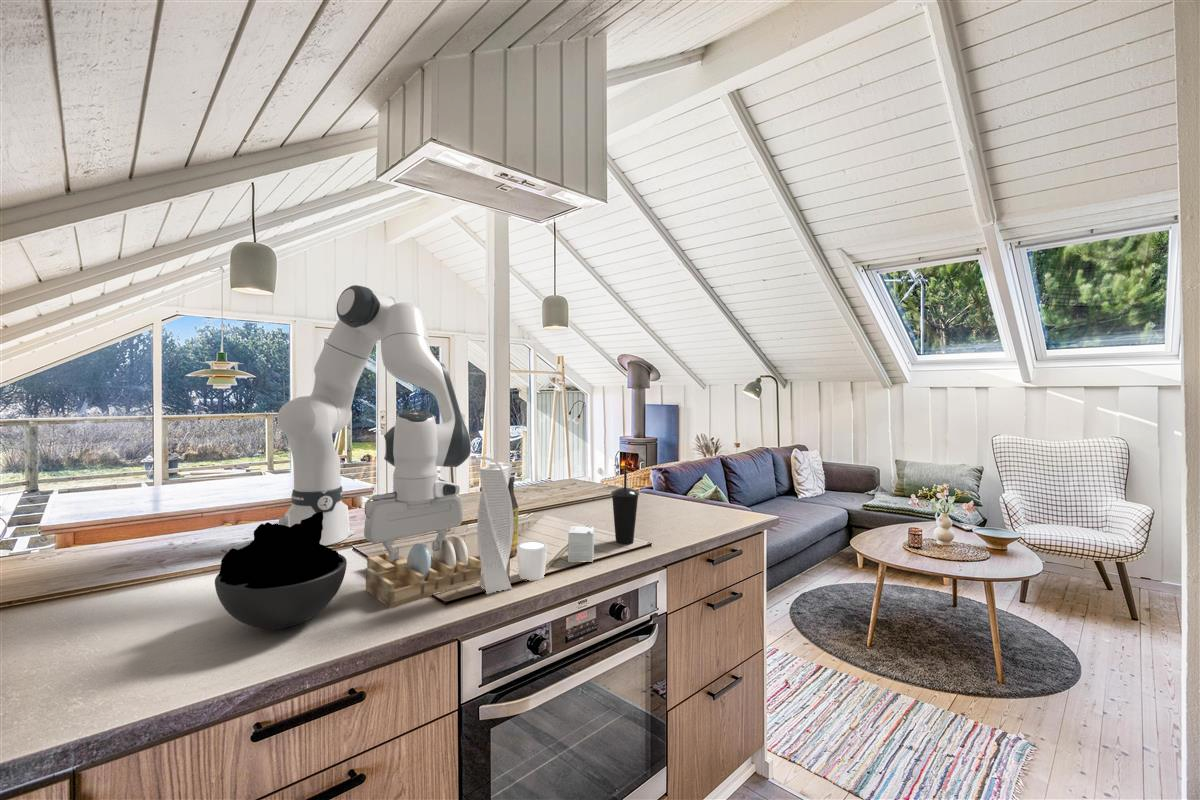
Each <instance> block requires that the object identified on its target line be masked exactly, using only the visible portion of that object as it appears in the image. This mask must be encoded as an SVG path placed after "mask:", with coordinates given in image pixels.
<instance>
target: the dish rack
mask: <svg viewBox="0 0 1200 800" xmlns="http://www.w3.org/2000/svg"><path fill="white" fill-rule="evenodd" d="M481 575H482V568H481V562H480V559H478V558H476V557H474V556H472V555H470V554H469V552H468V548H467V545H466V543H465V541H464V539H463V538H462V537H461V536H460V535H454V536H450V537H448V538H446V537H445V538H444V540H443V542H442V549H441V550H438V551H434V550H432V556H431V567H430V572H429V575H428V577H427V579H426V580H425V581H424V575H422V574H420V573H419V572H417V571H415V570H413V569H412V568H410V567H408V566H406V565H405V564H403V563H401V562H399V561H396V562H395V569H391V570H387V571H383V572H379V573H377V572H375V571H374V570H372V569H371V568H367V567H366V568H365V591H366V592H367V593H369V594H370V595H372V596H373V597H374V598H376V599H377V600H379V601H380V602H381V603H383V604H384V605H385V606H387V607H388V608H389V609H392V608H395V607H400V606H402V605H406V604H409V603H413V602H416V601H418V600H421V599H426V598H429V597H432V594H434V593H437V592H443V591H446V592H448V591H447V590H450V589H453V590H455V589H454V588H456V589H459V588H458V587H460V588H462V587H461V586H463V587H466V586H465V585H467V586H469V585H468V584H470V585H472V583H473V584H475V583H474V582H477V581H480V579H481ZM477 583H478V582H477ZM450 591H451V590H450ZM443 593H444V592H443Z"/></svg>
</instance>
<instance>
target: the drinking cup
mask: <svg viewBox="0 0 1200 800" xmlns="http://www.w3.org/2000/svg"><path fill="white" fill-rule="evenodd" d="M627 471H628V469H627V468H624V470H623V476H624V477H623V487H618V488H616V489H615V490H614V489H613V490H612V491H611V493H610V494H611V496H612V509H613V510H612V511H613V521H614V522H613V523H614V535H615V537H614V538H615V543H617V544H618V543H619V544H618V545H631V543H632V544H633V543H634V542H635V541H634V539H635V529H636V521H637V511H638V509H637V508H638V502H639V500H638V499H639V496H640V492H639V491H638V490H636V489H633V488H630V487H627V486H628V485H627V484H628V483H627V481H628V479H627V478H628V477H627V476H628V475H627V473H628V472H627Z"/></svg>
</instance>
